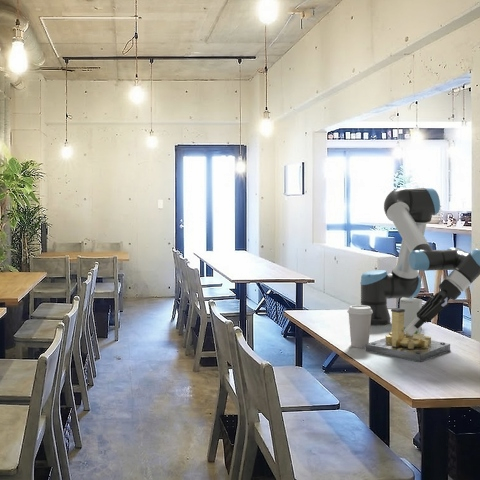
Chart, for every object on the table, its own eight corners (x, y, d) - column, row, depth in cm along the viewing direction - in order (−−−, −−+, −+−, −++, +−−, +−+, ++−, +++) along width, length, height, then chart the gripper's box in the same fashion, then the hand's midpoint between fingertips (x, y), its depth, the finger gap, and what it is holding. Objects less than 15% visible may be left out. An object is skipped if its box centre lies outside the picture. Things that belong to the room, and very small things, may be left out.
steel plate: (397, 340, 230) (397, 322, 230) (450, 350, 215) (450, 330, 214) (365, 350, 215) (365, 331, 214) (420, 362, 199) (420, 341, 199)
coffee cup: (373, 343, 226) (374, 305, 225) (371, 349, 217) (371, 309, 216) (349, 341, 229) (349, 304, 228) (345, 347, 220) (345, 308, 219)
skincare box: (398, 337, 236) (398, 299, 235) (400, 334, 242) (401, 296, 241) (419, 339, 232) (419, 300, 231) (421, 335, 238) (422, 298, 237)
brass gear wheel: (404, 336, 226) (404, 302, 225) (439, 344, 213) (440, 308, 212) (376, 342, 216) (376, 306, 215) (412, 350, 203) (412, 313, 203)
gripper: (468, 295, 201) (421, 344, 202) (454, 289, 215) (409, 335, 216) (453, 280, 201) (405, 329, 202) (439, 276, 215) (395, 321, 216)
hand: (407, 332), depth 209 cm, fingers closed
